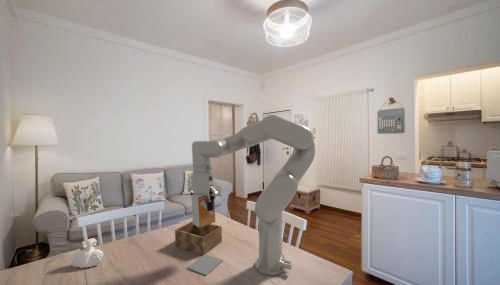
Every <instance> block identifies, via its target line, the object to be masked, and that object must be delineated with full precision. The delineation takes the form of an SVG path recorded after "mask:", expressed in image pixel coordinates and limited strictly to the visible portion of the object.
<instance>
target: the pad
mask: <svg viewBox="0 0 500 285" xmlns="http://www.w3.org/2000/svg"><path fill="white" fill-rule="evenodd" d="M223 261H224V260H223V259H221V258H218V257H215V256H212V255H209V254H207V253H206V254H204V255H201V256H200V257H199V258H198V259H196V260H195V261H194V262H192V263H191V264H189V265H188V266H187V267H186V268H187V270H189V271H193V272H195V273H198V274H200V275H203V276H205V277H206V276H208V275H209V274H210V273H212V272H213V271H214V270H215V269H216V268H217V267H218V266H219V265H220V264H222V263H223Z"/></svg>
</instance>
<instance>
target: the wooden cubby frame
mask: <svg viewBox="0 0 500 285" xmlns="http://www.w3.org/2000/svg"><path fill="white" fill-rule="evenodd" d="M222 228H223V227H222V226H221V225H217V224H214V223H211V224H208V225H205V226H202V227H198V226H196V225H194V224H193V220H192V221H190V222H188V223H186V224H185V225H183V226H180V227H178V228H175V229H174V237H175V238H174V239H175V240H174V241H175V247H177V248H180V249H183V250H187V251H189V252H193V253H195V254H198V255H201V256H203V255H204V254H206V255H207V254H208V253H209V252H210V251H212V250H213V249H214V248H215V247H217V246H218V245H219V244H221V243H222V242H223V236H222V234H223V229H222Z"/></svg>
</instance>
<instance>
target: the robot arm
mask: <svg viewBox="0 0 500 285" xmlns="http://www.w3.org/2000/svg"><path fill="white" fill-rule="evenodd" d="M270 140H274V141H277V142H279V143H282V145H283V144H284V145H286V146H288V147H292V148H293V151H292V152H291V154H290V156H289V157H288V158H287V161H286V162H285V163H284V164H283V165H282V167H281V168H280V169H279V171H278V172H276V174H275V175H274V177H273V179H272V180H271V182H270V183H269V184H268V186H267V187H266V189H265V190H264V191H262V192H261V193H260V194H259V196H258V198H257V200H256V202H255V204H254V213H255V215H256V217H257V219H258V258H257V259H256V260H255V262H254V264H255V265H254V266H255V268H256V270H257V271H258V272H259V273H261V274H263V275H266V276H277V275H280V274H282V273H284V271H285V270H286V269H287V270H289V271H291V270H292V267H293V264H292V263H291V260H288V259H285V254H283V232H282V231H283V212H284V211H285V209H286V208H287V207H288V205H289V204H290V203H291V201H292V200H293V199H294V197H295V196H296V194H297V192H298V188H299V187H298V185H299V183H300V181H301V180H302V178H303V177H304V176H305V174H306V173H307V172H308V170H309V168H310V167H311V165H312V164H313V162H314V159H315V154H316V143H315V141H314V135H313V132H312V131H311V129H310V128H308V127H306V126H305V125H302V124H299V123H296V122H293V121H291V120H288V119H285V118H283V117H281V116H279V115H275V114H269V115H267V116H265V117H264V118H263V119H262V120H259V121H257V122H254V123H252V124H249V125H246V126H244V127H243V128H242V127H241V129H240V130H239V131H238V132H237V133H234V134H233V135H230V136H227V137H225V138H221V139H212V140H195V141H193V142H192V144H191V152H192V154H191V155H192V174H191V187H189V189H188V192H189V194H190V196H191V197H192V195H193V194H197V195H203V196H206V197H207V199H208V201H209V202H207V208H208V211H211V210H213V209H214V205H213V201H214V200H216V198H217V196H218V194H219V192H218V190H217V189H216V186H215V185H216V184H215V179H214V174H213V171H212V170H213V168H212V166H211V158H213V159H217V158H221V157H224V156H227V155H230V154H232V153H235V152H238V151H240V150H244V149H248V148H251V147H254V146H256V145H259V144H262V143H265V142H267V141H270ZM209 196H210V197H211V198H210V197H209Z"/></svg>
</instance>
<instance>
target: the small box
mask: <svg viewBox="0 0 500 285" xmlns="http://www.w3.org/2000/svg"><path fill="white" fill-rule="evenodd" d="M209 197H210V196H209ZM210 198H211V197H210ZM215 200H216V199H215ZM215 200H214V201H213V205H214V209H213V210H211V211H208V208H207V202H209V201H208V199H207V197H206V196H203V195H197V194H193V195H192V196H191V214H192V215H191V216H192V218H191V219H192V221H193V224H194V225H196V226H198V227H202V226H205V225H208V224H214V223H216V207H215V206H216V204H215V203H216V202H215Z"/></svg>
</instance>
